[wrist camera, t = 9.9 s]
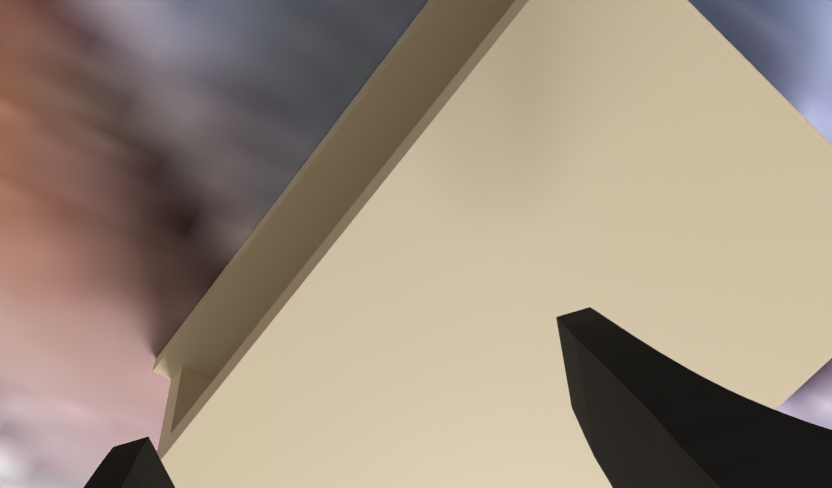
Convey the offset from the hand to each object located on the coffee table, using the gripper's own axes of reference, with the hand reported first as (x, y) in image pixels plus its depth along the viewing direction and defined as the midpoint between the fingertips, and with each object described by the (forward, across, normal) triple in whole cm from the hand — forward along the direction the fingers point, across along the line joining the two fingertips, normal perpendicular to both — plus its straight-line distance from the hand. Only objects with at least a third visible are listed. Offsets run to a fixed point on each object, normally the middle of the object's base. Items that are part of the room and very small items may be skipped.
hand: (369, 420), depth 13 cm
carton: (+9, -4, +3) cm, 11 cm away
